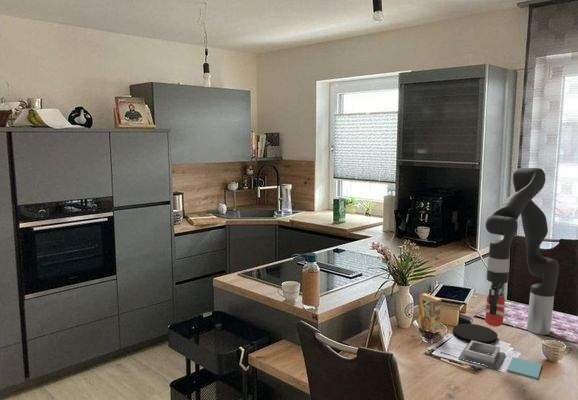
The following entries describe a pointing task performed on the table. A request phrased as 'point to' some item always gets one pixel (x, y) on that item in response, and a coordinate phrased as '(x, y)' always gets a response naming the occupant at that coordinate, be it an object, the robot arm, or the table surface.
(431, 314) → the candy box
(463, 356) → the can holder
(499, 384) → the table surface
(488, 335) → the black round disc
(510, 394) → the table surface
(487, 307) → the beverage can
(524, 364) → the mat
